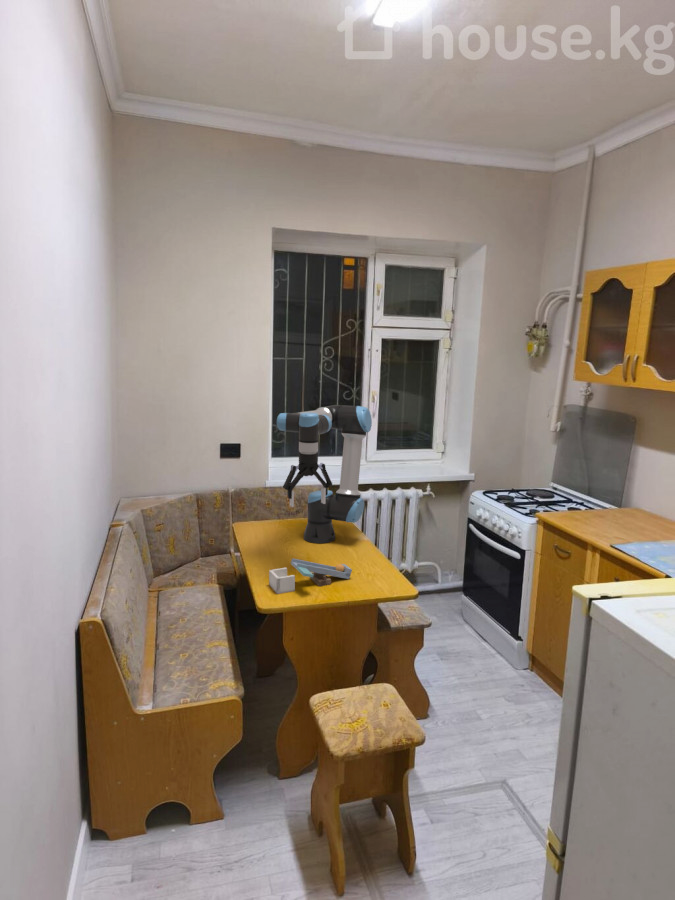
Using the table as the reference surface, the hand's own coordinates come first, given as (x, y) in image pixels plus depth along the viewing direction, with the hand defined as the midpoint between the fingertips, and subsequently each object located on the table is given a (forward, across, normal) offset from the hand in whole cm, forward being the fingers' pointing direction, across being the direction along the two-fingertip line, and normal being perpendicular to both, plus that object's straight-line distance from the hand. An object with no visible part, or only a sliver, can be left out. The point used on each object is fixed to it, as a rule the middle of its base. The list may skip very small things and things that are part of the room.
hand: (307, 504), depth 232 cm
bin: (+29, +14, +10) cm, 34 cm away
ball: (+26, -10, +9) cm, 30 cm away
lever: (+25, -2, +13) cm, 28 cm away
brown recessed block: (+29, -2, +10) cm, 30 cm away
